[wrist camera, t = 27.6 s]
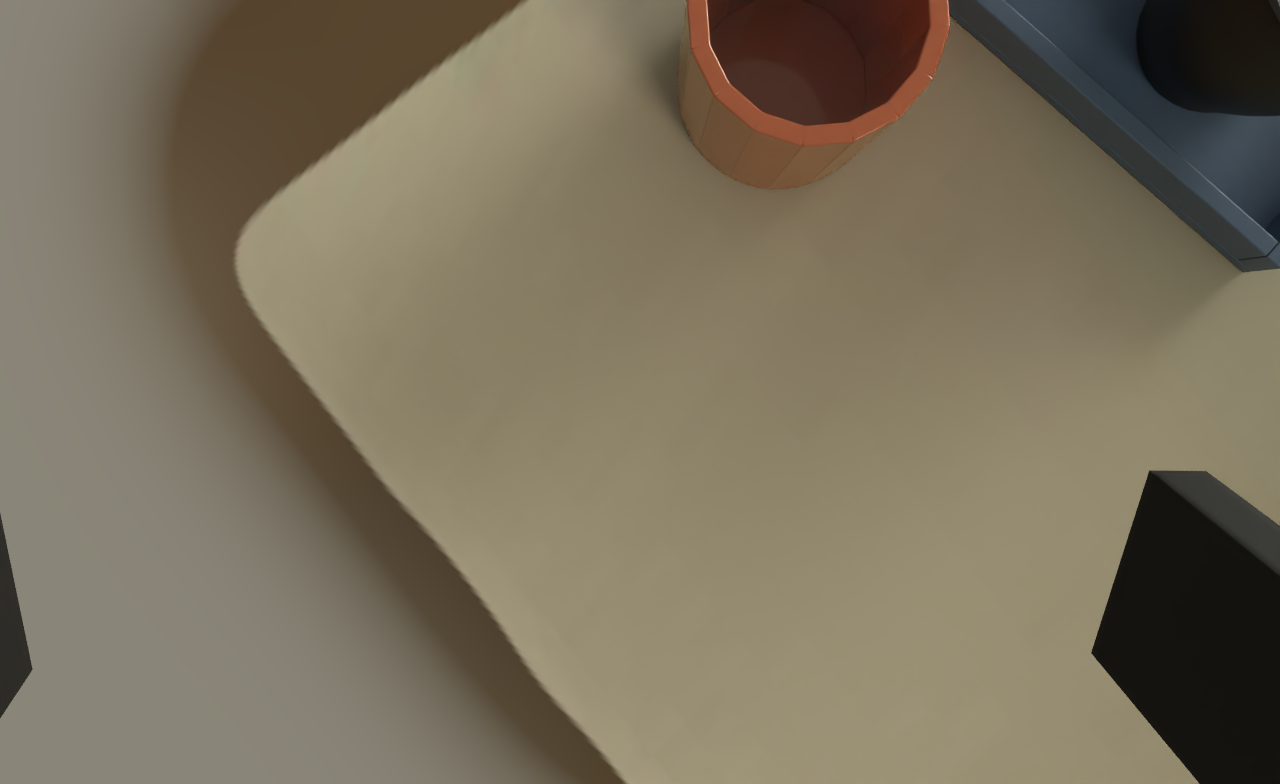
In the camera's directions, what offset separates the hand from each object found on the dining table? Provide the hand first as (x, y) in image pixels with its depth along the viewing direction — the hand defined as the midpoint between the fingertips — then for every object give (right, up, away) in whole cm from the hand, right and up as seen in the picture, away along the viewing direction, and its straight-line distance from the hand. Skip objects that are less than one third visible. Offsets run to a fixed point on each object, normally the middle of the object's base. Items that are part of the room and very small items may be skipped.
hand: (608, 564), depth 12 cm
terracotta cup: (+6, +14, +26) cm, 30 cm away
